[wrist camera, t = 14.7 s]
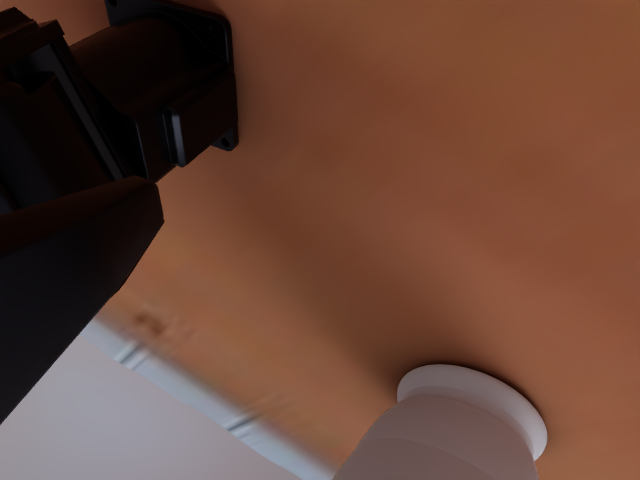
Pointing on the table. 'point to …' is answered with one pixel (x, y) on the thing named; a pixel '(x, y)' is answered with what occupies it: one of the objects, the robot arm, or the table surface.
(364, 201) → the table surface
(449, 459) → the jar
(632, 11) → the table surface
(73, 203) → the robot arm
